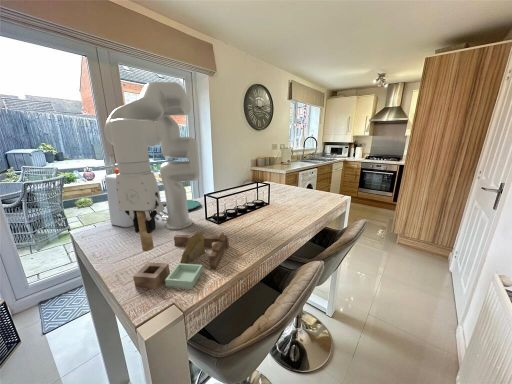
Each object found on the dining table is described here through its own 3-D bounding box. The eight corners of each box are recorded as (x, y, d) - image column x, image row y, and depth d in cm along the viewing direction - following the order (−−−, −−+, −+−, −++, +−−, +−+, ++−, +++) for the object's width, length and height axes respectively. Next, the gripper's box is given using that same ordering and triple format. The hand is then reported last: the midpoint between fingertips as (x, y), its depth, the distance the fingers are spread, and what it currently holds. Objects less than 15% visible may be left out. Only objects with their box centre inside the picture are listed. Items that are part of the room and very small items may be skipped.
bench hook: (155, 265, 73) (152, 246, 71) (177, 243, 88) (175, 226, 86) (217, 269, 70) (215, 249, 68) (228, 246, 85) (228, 229, 83)
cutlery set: (206, 207, 132) (206, 203, 131) (158, 222, 111) (157, 218, 110) (190, 201, 145) (189, 197, 144) (144, 213, 124) (143, 210, 123)
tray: (166, 286, 62) (165, 279, 62) (179, 269, 70) (178, 263, 70) (192, 289, 61) (191, 281, 61) (203, 271, 69) (202, 264, 69)
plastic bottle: (126, 229, 102) (115, 171, 94) (107, 224, 108) (95, 169, 100) (153, 218, 115) (145, 167, 107) (134, 214, 121) (126, 165, 114)
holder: (135, 287, 62) (133, 276, 61) (149, 272, 69) (148, 262, 68) (157, 289, 61) (155, 277, 60) (170, 274, 68) (168, 263, 67)
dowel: (140, 250, 61) (133, 211, 58) (146, 245, 64) (140, 208, 61) (149, 251, 61) (143, 212, 58) (155, 246, 64) (150, 208, 61)
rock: (181, 266, 68) (210, 253, 73) (173, 241, 70) (202, 230, 75) (181, 268, 78) (206, 257, 82) (173, 247, 80) (199, 237, 84)
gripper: (95, 170, 53) (110, 235, 59) (155, 171, 51) (165, 238, 57) (117, 165, 61) (129, 224, 66) (171, 166, 59) (178, 226, 64)
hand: (145, 230), depth 61 cm, fingers closed on dowel, 3 cm apart
